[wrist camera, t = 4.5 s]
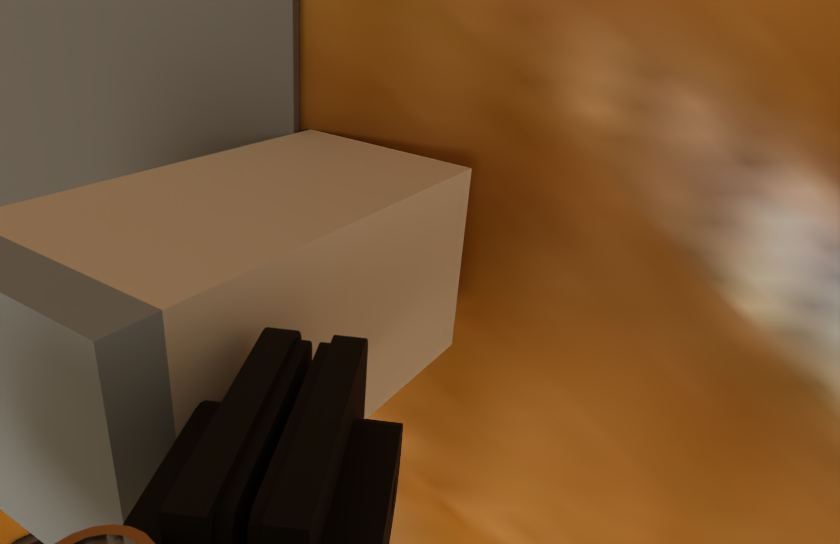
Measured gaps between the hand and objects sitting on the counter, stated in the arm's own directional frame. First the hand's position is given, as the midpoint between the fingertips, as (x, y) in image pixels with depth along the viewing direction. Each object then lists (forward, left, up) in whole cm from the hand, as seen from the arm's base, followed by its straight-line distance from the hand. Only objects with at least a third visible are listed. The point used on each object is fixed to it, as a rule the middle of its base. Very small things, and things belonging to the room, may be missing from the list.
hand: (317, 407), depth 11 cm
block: (0, 0, -8) cm, 8 cm away
